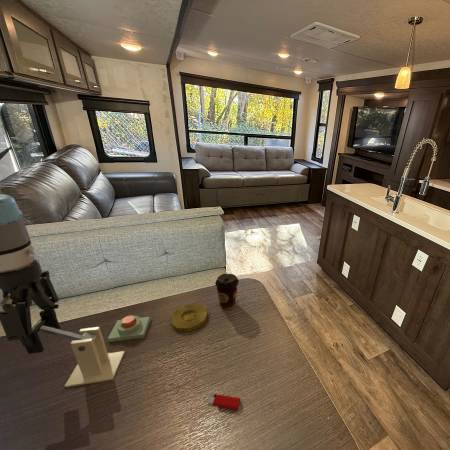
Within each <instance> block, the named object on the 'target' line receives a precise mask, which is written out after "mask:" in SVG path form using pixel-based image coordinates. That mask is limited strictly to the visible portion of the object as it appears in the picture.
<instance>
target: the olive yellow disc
mask: <svg viewBox="0 0 450 450" xmlns="http://www.w3.org/2000/svg"><path fill="white" fill-rule="evenodd" d="M207 317H208V312H207V308H206V307H204V306H203V305H201V304H193V303H192V304H191V303H190V304H186V305H183V306H181V307H179V308H178V309H176V310H174V312H173V313H172V315H171V317H170V324H171V327H172V328H173V329H174V330H175V331H177V332H183V333H184V332H191V331H195V330H197V329H198V328H201V326H203V325H204V324H205V323H206V321H207Z"/></svg>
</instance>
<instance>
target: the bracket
mask: <svg viewBox="0 0 450 450" xmlns="http://www.w3.org/2000/svg"><path fill="white" fill-rule="evenodd" d="M85 332H87V333H91V334H94V335H97V336H96V337H95V339H94V341H93V339H83V340H71V342H70V347H71V349H72V352H73V354H74V357H75V360H76V362H77V364H76V366H75V367H74V369H73V371H72V373H71V374H70V375H69V377H68V379H67V380H66V383H65V384H64V388H71V387H77V386H84V385H90V384H95V383H103V382H108V381H113V380H114V378H115V375H116V374H117V372H118V369H119V366H120V365H121V362H122V361H123V358H124V356H125V353H126V351H125V350H122V351H115V352H108V350H107V346H106V344H105V339H104V336H103V333H102V330H101V327H100V326H95V327H85V328H80V329H79V331H78V333H79V335H84V333H85Z"/></svg>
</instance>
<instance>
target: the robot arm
mask: <svg viewBox="0 0 450 450" xmlns="http://www.w3.org/2000/svg"><path fill="white" fill-rule="evenodd" d="M35 251H36V250H35V249H34V246H33V244H32V241H31V238H30V234H29V232H28V229H27V225H26V223H25V220H24V218H23V213H22V210H20V208H19V206H18V204H17V202H16V200H15V198H14V197H13V196H11V195H8V194H4V193H0V290H2V300H1V302H0V324H1V326H2V328H3V332H4V334H5V337H6V340H7V341H8V342H10V341H20V343H21V345H22V346H23V348H25V350H26V351H27V354H28V355H29V354H31V355H32V354H38V353H43V352H44V351H45V348H44V345H43V343H42V342H41V341H42V340H41V339H40V337H39V334H38V333H37V332H36V330H32V328H33V325H32V314H31V306H32V305H33V303H34V304H35V305H36V306H37V307H38V308H39V310H41V311H40V312H39V317H40V319H41V318H42V317H44V316H46V317H48V318H49V320H48V321H47V322H46V324H45V325H44V326H47V327H51V328H55V329H59V330H62V328H61V325H60V322H59V320H58V317H57V313H56V310H57V309H59V307H60V305H59V300H60V299H59V296H58V294H57V292H56V290H55V287H54V285H53V283H52V280H51V277H50V272H49V270H43V269H42V267H41V265H40V262H39V259H37V254H36V252H35ZM57 303H58V304H57Z"/></svg>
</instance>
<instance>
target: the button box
mask: <svg viewBox="0 0 450 450" xmlns="http://www.w3.org/2000/svg"><path fill="white" fill-rule="evenodd" d="M133 316H134V317H135V324H134V325H133V326H131V327H129V328H124V327H123V325H122V319H118V320H116V321H115V324H114V326H113V327H112V330H111V331H110V333H109V336H108V337H107V341H108V343H112V342H123V341H130V340H137V339H144V338H145V336H146V333H147V330H148V327H149V326H150V323H151V317H150V316H145V317H140V316H137V315H133Z"/></svg>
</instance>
